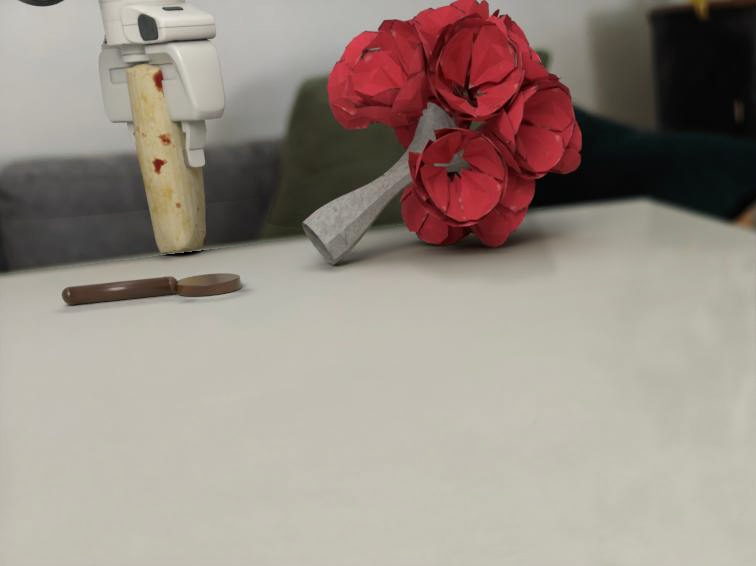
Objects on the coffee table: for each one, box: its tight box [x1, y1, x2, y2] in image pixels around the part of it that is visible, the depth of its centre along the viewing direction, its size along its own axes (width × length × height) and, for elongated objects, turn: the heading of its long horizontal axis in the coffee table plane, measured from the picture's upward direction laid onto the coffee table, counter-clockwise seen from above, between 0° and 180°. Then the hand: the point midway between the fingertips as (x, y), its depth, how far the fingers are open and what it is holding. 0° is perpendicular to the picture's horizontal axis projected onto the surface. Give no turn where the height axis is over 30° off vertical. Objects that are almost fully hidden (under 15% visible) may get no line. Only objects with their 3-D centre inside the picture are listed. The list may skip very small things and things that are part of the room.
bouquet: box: [301, 0, 583, 266], centre depth 114 cm, size 22×24×30 cm
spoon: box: [61, 272, 242, 306], centre depth 105 cm, size 16×6×2 cm, turn 104°
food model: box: [125, 62, 207, 255], centre depth 125 cm, size 10×7×20 cm
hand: (173, 166), depth 126 cm, fingers open, 8 cm apart
